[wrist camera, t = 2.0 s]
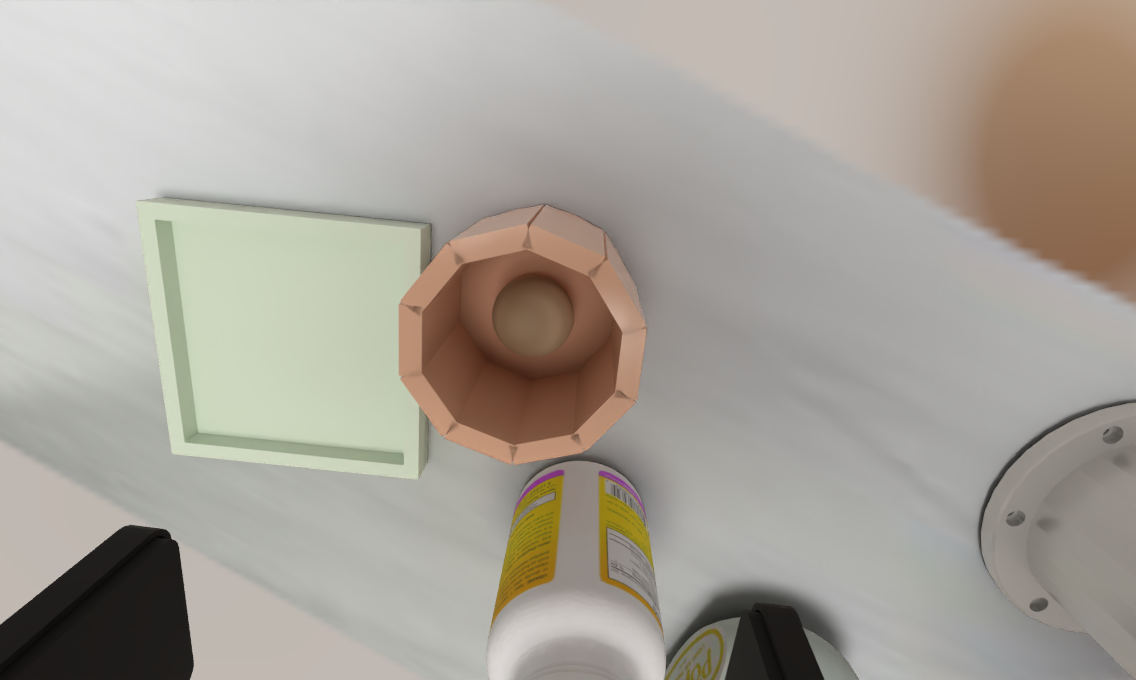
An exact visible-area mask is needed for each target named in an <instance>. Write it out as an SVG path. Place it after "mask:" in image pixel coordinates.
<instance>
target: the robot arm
mask: <svg viewBox="0 0 1136 680" xmlns="http://www.w3.org/2000/svg"><path fill="white" fill-rule="evenodd" d="M981 549H982V554H983V558H984V561H985V564H986V568H987V570H988V572H989V573H990V575H991V577H992V578H993V580H994V582H995V583H996V585H997V586H998V587H999V588H1000V589H1001V590H1002V592H1003V593H1004V594H1005V595H1006V596H1007V597H1008V598H1009V599H1010V601H1011V602H1012V603H1013V604H1014V605H1015V606H1017V607H1018V608H1019V609H1020V610H1021V611H1023V612H1024V613H1025V614H1027V615H1028V616H1030V617H1032V618H1034V619H1036V620H1038V621H1040V622H1042V623H1044V624H1046V625H1048V626H1052V627H1056V628H1059V629H1063V630H1067V631H1071V632H1081V633H1088V634H1089V635H1090V636H1091V637H1092V638H1093V639H1094V640H1095V641H1096V642H1097V643H1098V644H1099V645H1100V646H1101V647H1102V648H1103V649H1104V650H1105V651H1106V652H1107V653H1108V654H1109V655H1110V656H1111V657H1112V658H1113V659H1114V660H1115V661H1116V662H1117V663H1118V664H1119V665H1120V666H1121V667H1122V668H1123V669H1124V670H1125V671H1126V672H1127V673H1128V674H1129V675H1130V676H1131V677H1132V678H1133V679H1134V680H1136V403H1127V404H1123V405H1118V406H1114V407H1109V408H1105V409H1101V410H1098V411H1095V412H1093V413H1090V414H1088V415H1085V416H1082V417H1080V418H1077V419H1075V420H1072V421H1071V422H1069V423H1067V424H1065V425H1063V426H1062V427H1060V428H1058V429H1056V430H1054V431H1053V432H1051V433H1049V434H1047V435H1046V436H1045V437H1044V438H1042V439H1041V440H1040V441H1038V442H1037V443H1036V444H1034V445H1033V446H1032V447H1031V448H1029V449H1028V450H1027V451H1026V452H1025V453H1024V454H1023V455H1022V456H1021V457H1020V458H1019V459H1018V460H1017V461H1016V462H1015V463H1014V464H1013V465H1012V466H1011V467H1010V468H1009V469H1008V470H1007V472H1006V473H1005V475H1004V476H1003V478H1002V479H1001V481H1000V482H999V484H998V485H997V487H996V488H995V490H994V492H993V494H992V496H991V498H990V501H989V503H988V505H987V508H986V510H985V514H984V519H983V524H982V529H981ZM193 662H194V661H193V654H192V645H191V638H190V630H189V622H188V614H187V606H186V599H185V591H184V583H183V575H182V568H181V560H180V552H179V546H178V543H177V542H176V541H175V540H172V539H171V535H170V533H169V532H168V531H167V530H164V529H159V528H151V527H143V526H135V525H129V526H125V527H123V528H121V529H119V530H118V531H117V532H116V533H114V534H113V535H112V536H110V537H109V538H108V539H107V540H105V541H104V542H103V543H102V544H100V545H99V546H98V547H97V548H95V550H93V551H92V552H90V553H89V554H88V555H87V556H85V557H84V558H83V559H82V560H80V561H79V562H78V563H77V564H75V565H74V566H73V567H72V568H70V569H69V570H68V571H67V572H66V573H64V574H63V575H62V576H61V577H59V578H58V579H57V580H56V581H54V582H53V583H52V584H51V585H49V586H48V587H47V588H46V589H44V590H43V591H42V592H41V593H39V594H38V595H37V596H36V597H34V598H33V599H32V600H31V601H29V602H28V603H27V604H26V605H24V606H23V607H22V608H21V609H19V610H18V611H17V612H16V613H14V614H13V615H12V616H11V617H10V618H8V619H7V620H6V621H4V622H3V623H2V624H1V625H0V680H190V678H191V674H192V672H193V666H194V663H193ZM725 680H825V679H824V677H823V675H822V672H821V670H820V667H819V665H818V663H817V660H816V658H815V655H814V653H813V651H812V648H811V646H810V644H809V641H808V639H807V636H806V634H805V632H804V629H803V627H802V624H801V622H800V620H799V617H798V615H797V613H796V611H795V609H794V608H792V607H790V606H782V605H774V604H766V603H756V604H755V605H754V606H753V609H752V611H743V612H742V614H741V617H740V621H739V625H738V629H737V633H736V637H735V641H734V644H733V648H732V652H731V656H730V660H729V664H728V668H727V672H726V676H725Z"/></svg>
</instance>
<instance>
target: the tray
mask: <svg viewBox="0 0 1136 680" xmlns="http://www.w3.org/2000/svg"><path fill="white" fill-rule="evenodd" d="M136 206H137V213H138V220H139V227H140V234H141V241H142V248H143V255H144V262H145V269H146V276H147V283H148V290H149V297H150V304H151V311H152V318H153V325H154V332H155V339H156V346H157V353H158V360H159V367H160V374H161V381H162V388H163V395H164V402H165V409H166V416H167V423H168V430H169V437H170V444H171V451H172V454H178V455H187V456H197V457H207V458H216V459H226V460H235V461H245V462H255V463H264V464H274V465H283V466H293V467H303V468H312V469H322V470H331V471H341V472H351V473H360V474H370V475H380V476H389V477H399V478H408V479H419V477H420V475H421V473H422V471H423V470H424V468H425V466H426V464H427V449H428V417H427V415H426V414H425V413H424V411H423V410H422V409H421V407H420V406H419V404H418V403H417V402H416V400H415V399H414V398H413V396H412V395H411V393H410V392H409V391H408V389H407V388H406V387H405V385H404V384H403V382H402V381H401V380H400V378H401V377H402V376H399V304H400V303H401V302H400V300H401V299H402V298H403V296H404V295H405V294H406V293H407V291H408V290H409V289H410V288H411V286H412V285H413V284H414V283H415V282H416V280H417V279H418V278H419V277H420V275H421V274H422V273H423V272H424V270H425V269H426V268H427V267H428V265H429V264H430V255H431V224H427V223H417V222H407V221H397V220H387V219H376V218H366V217H356V216H346V215H336V214H326V213H315V212H305V211H295V210H285V209H275V208H265V207H254V206H244V205H234V204H224V203H214V202H203V201H193V200H183V199H173V198H163V197H162V198H154V199H147V200H139V201H136Z"/></svg>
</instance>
